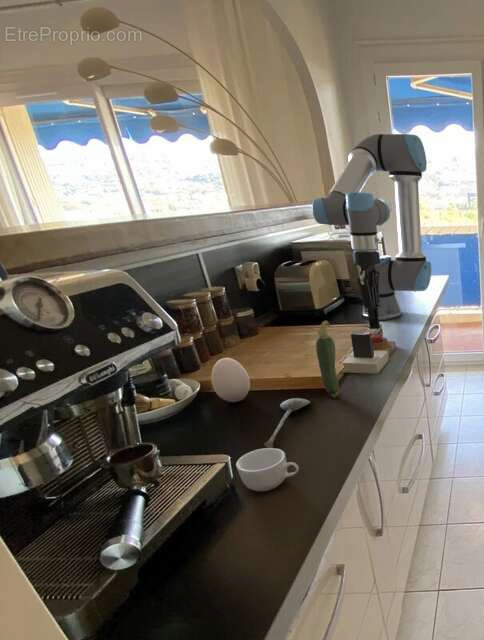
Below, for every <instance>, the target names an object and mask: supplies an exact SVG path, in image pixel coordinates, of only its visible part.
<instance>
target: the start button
mask: <svg viewBox="0 0 484 640" xmlns="http://www.w3.org/2000/svg"><path fill="white" fill-rule="evenodd" d="M383 337H384V335H383V333H372V341H373V343H379V342H383Z"/></svg>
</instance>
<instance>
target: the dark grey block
mask: <svg viewBox="0 0 484 640" xmlns="http://www.w3.org/2000/svg"><path fill="white" fill-rule="evenodd" d="M372 334H373V333H372V332H368V331H367V332H354V331H353V332H352V333H350V339H351V345H352V350H353V353H354V357H363V358H372V357H373V356H374V349H373V341H372Z"/></svg>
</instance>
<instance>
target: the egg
mask: <svg viewBox="0 0 484 640" xmlns="http://www.w3.org/2000/svg"><path fill="white" fill-rule="evenodd" d="M210 379H211V386H212V388H213V390H214V393H216V395H217V396H218V397H219V398H220V399H222V400H224V401H226V402H229V403H238V402H241V401H243V400H244V399H246V397H247V395H248V393H249V391H250V388H251V379H250V377H249V373H248V372H247V370H246V369H245V368H244V367H243V365H242V364H241V363H240V362H239V361H237V360H235V359H233V358H231V357H223V358H220V359H219V360H218V361H216V363H214V365H213V367H212V371H211V376H210Z"/></svg>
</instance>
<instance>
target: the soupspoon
mask: <svg viewBox="0 0 484 640" xmlns="http://www.w3.org/2000/svg"><path fill="white" fill-rule="evenodd" d="M309 404H311V401H310V400H308V399H305V398H299V397H295V398H289V399H286V400H284V401H282V402H281V403H280V404H279V407H280V408H281V409H282V410H284V411H286V412H285V413H284V414H283V416H282V418H281V419H280V421H279V423H278V425H277V426H276V429H275V430H274V431H273V433H272V434H271V435H270V438H269V439H268V440H267V441H266V442H264V443H263V446H264V447H265V448H274V441H275V439H276V437H277V434H279V431H280V430H281V428H282V427H283V425H284V423H285V422H286V420H287V419H288V417H289V416H290V415H291V413H293V412H294V411H297V410H299V409H302V408H303V407H306V406H307V405H309Z"/></svg>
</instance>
